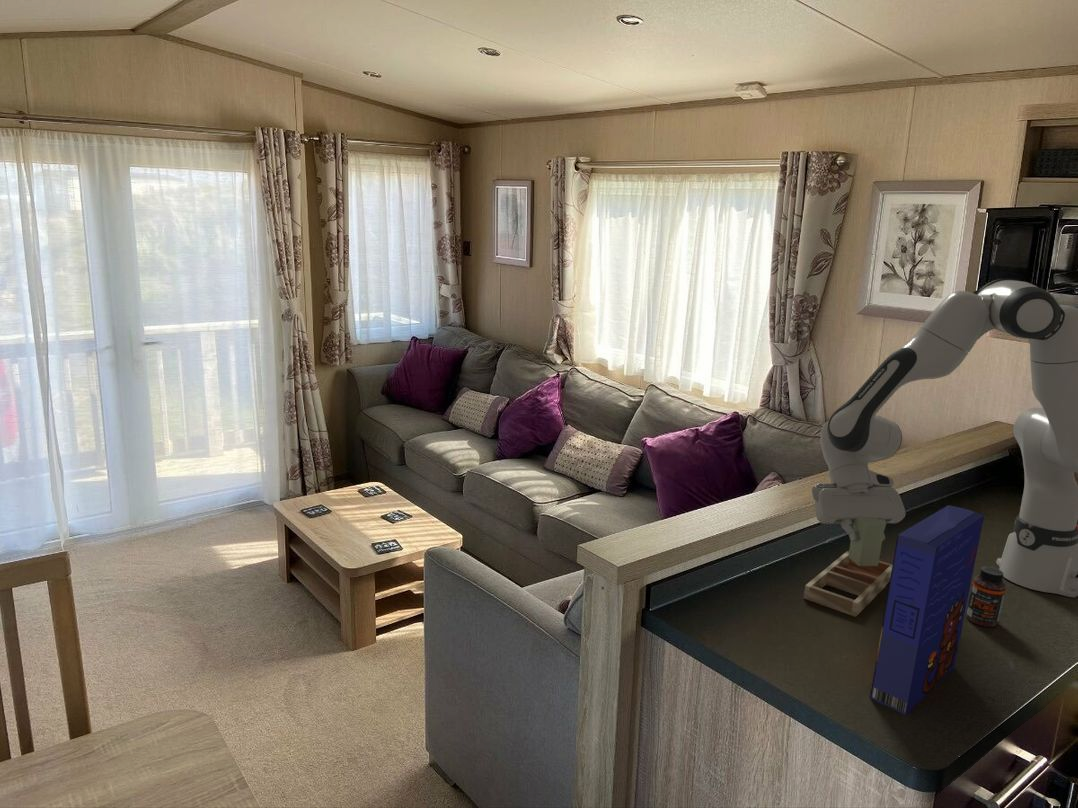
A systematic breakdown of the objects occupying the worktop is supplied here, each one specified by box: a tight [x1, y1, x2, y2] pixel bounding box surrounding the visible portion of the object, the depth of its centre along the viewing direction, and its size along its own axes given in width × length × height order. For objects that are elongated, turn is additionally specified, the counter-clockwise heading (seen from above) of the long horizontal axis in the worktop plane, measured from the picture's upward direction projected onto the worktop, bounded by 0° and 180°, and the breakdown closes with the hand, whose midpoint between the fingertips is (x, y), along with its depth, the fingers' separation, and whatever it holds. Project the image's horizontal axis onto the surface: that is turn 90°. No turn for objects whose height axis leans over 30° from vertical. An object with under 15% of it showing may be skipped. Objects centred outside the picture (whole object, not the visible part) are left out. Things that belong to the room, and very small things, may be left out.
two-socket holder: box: [803, 550, 893, 618], centre depth 175 cm, size 25×11×3 cm, turn 140°
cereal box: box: [869, 504, 985, 716], centre depth 137 cm, size 22×6×30 cm, turn 134°
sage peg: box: [848, 517, 886, 566], centre depth 179 cm, size 5×5×10 cm
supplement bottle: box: [965, 566, 1007, 628], centre depth 163 cm, size 6×6×11 cm
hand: (868, 540), depth 178 cm, fingers closed on sage peg, 5 cm apart
